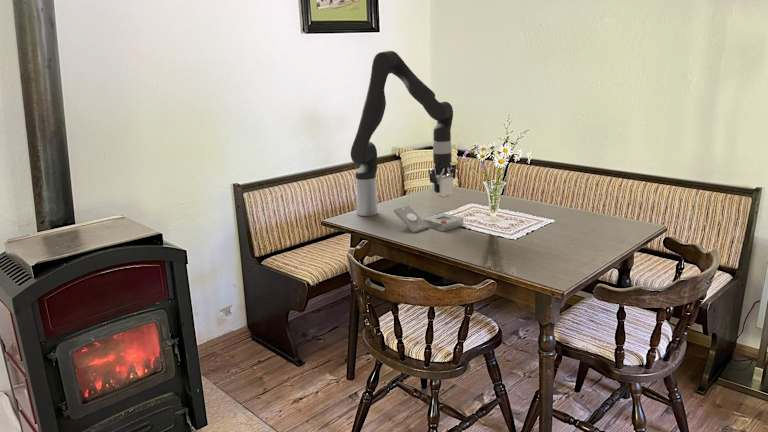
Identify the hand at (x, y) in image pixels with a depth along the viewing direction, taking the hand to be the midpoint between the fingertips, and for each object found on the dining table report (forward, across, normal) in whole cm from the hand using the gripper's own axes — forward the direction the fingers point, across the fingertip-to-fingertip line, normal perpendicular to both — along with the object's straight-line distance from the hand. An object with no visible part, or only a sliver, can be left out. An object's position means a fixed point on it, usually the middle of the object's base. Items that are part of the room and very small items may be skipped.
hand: (442, 190), depth 246 cm
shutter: (+13, 0, 0) cm, 13 cm away
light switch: (+15, +12, -8) cm, 21 cm away
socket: (+15, 0, 0) cm, 15 cm away
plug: (+3, 0, 0) cm, 3 cm away
